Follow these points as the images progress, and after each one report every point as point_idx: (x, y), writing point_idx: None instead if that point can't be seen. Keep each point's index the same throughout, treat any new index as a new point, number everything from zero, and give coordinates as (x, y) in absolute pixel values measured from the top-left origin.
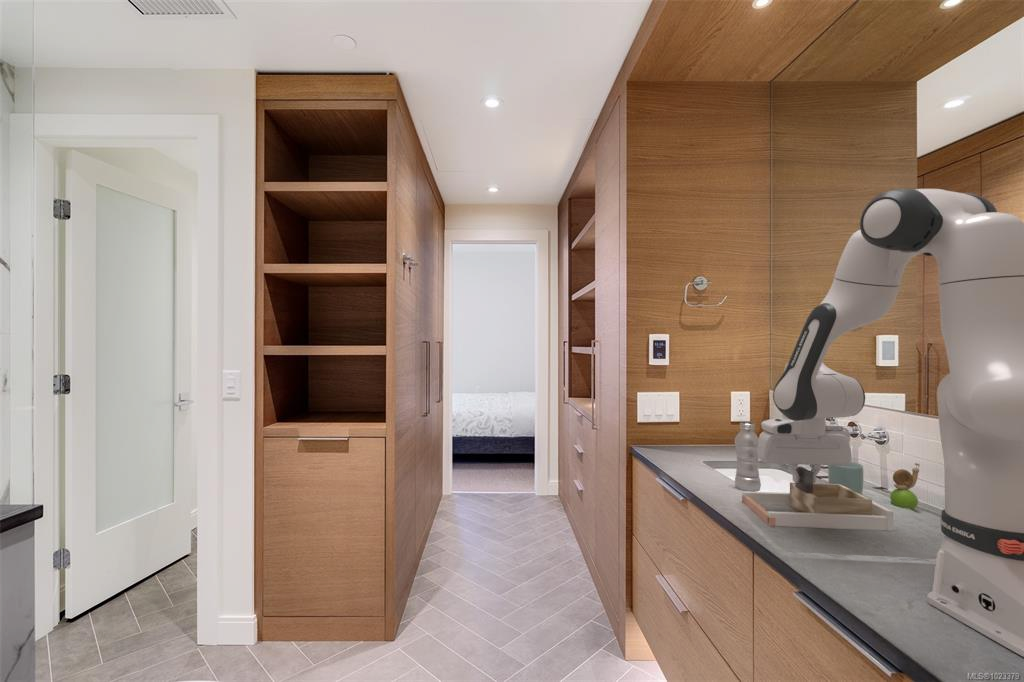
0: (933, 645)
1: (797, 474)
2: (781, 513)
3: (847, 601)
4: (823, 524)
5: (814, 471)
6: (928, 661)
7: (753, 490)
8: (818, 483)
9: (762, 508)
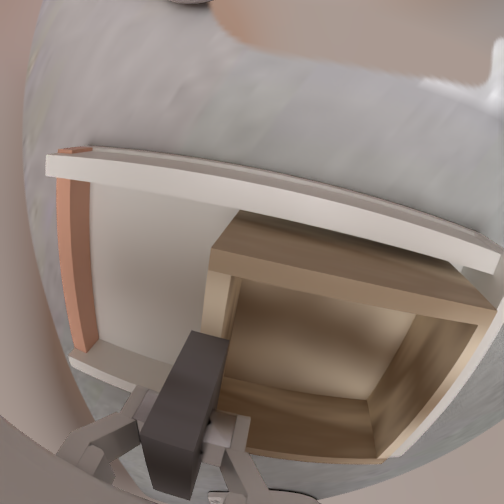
0: (164, 496)
1: (130, 445)
2: (97, 378)
3: (130, 467)
4: None
5: (231, 490)
6: (149, 495)
7: (195, 2)
8: (406, 293)
9: (74, 301)
